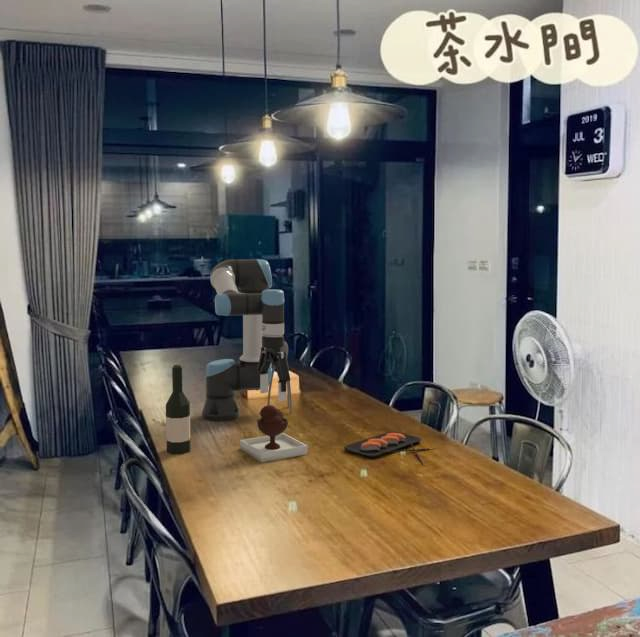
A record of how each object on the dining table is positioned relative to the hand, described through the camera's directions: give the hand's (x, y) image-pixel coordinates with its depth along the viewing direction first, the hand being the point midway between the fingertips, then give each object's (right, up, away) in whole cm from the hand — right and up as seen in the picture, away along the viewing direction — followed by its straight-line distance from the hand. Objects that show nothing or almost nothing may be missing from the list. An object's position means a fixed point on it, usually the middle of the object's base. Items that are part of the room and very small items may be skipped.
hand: (273, 396), depth 231 cm
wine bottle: (-33, -19, +2) cm, 38 cm away
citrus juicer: (+1, -13, +59) cm, 60 cm away
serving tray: (0, -19, +2) cm, 19 cm away
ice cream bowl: (0, -18, +2) cm, 18 cm away
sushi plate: (+44, -20, +3) cm, 48 cm away
